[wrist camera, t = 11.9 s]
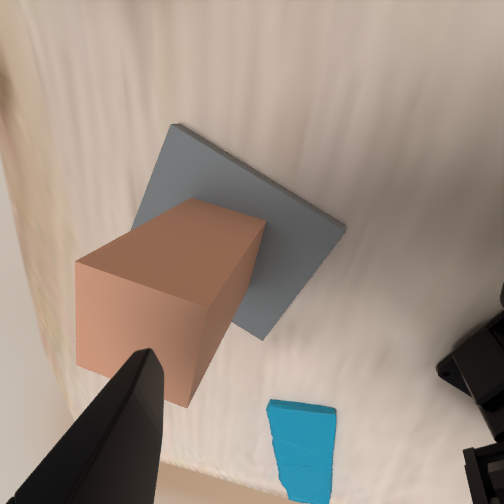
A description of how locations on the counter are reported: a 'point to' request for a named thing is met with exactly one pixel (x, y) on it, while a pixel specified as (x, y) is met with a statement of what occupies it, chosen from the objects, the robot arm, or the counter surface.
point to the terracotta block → (166, 292)
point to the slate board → (250, 203)
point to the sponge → (303, 448)
